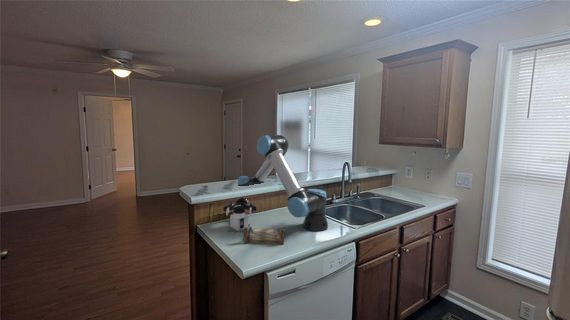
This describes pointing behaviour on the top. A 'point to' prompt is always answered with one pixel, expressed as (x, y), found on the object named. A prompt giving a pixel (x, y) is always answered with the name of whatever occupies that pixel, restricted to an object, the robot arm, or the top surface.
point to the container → (239, 218)
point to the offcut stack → (264, 234)
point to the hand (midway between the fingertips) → (238, 213)
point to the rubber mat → (236, 230)
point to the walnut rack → (247, 235)
